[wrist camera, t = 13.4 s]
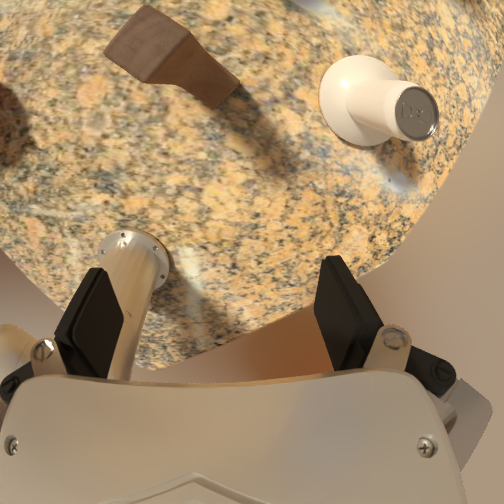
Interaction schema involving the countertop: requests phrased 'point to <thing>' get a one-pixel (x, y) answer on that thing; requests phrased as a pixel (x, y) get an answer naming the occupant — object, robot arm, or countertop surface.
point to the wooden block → (169, 57)
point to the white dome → (335, 97)
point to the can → (394, 108)
